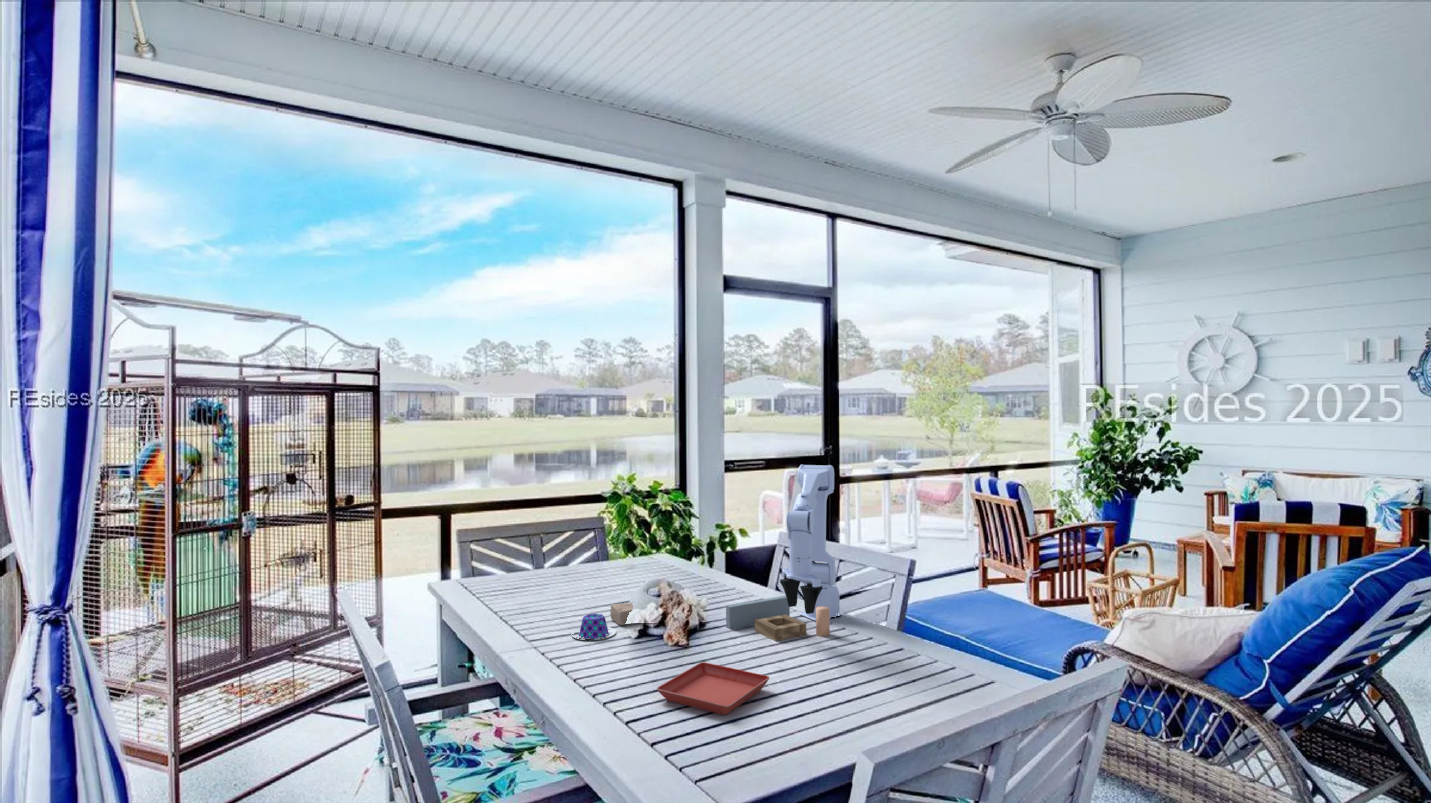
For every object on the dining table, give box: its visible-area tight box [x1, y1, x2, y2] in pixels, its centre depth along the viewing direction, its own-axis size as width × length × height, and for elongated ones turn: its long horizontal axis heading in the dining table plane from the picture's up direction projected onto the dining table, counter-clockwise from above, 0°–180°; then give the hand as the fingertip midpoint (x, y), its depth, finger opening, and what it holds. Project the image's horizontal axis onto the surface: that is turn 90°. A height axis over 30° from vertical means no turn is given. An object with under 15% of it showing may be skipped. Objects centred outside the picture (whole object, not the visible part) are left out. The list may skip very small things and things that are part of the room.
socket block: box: [754, 615, 807, 642], centre depth 200 cm, size 10×10×3 cm
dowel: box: [815, 607, 831, 638], centre depth 198 cm, size 4×4×7 cm
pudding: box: [571, 613, 617, 641], centre depth 200 cm, size 12×12×5 cm
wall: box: [725, 595, 791, 630], centre depth 209 cm, size 20×2×6 cm, turn 119°
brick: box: [609, 602, 633, 626], centre depth 214 cm, size 17×8×5 cm, turn 120°
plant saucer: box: [656, 661, 771, 716], centre depth 158 cm, size 18×18×3 cm
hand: (800, 609), depth 191 cm, fingers open, 7 cm apart
